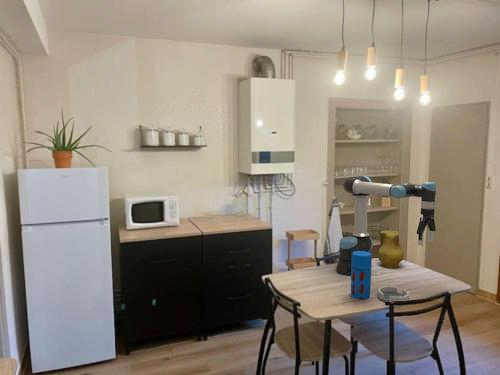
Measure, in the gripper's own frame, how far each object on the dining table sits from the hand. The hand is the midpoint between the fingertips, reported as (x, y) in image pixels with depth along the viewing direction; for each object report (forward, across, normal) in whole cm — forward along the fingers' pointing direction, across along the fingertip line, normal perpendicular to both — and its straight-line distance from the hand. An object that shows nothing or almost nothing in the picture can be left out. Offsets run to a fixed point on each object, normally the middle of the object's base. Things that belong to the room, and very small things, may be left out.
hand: (425, 243), depth 231 cm
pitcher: (+28, +27, +36) cm, 53 cm away
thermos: (+28, -40, +18) cm, 52 cm away
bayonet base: (+28, -29, +4) cm, 40 cm away
